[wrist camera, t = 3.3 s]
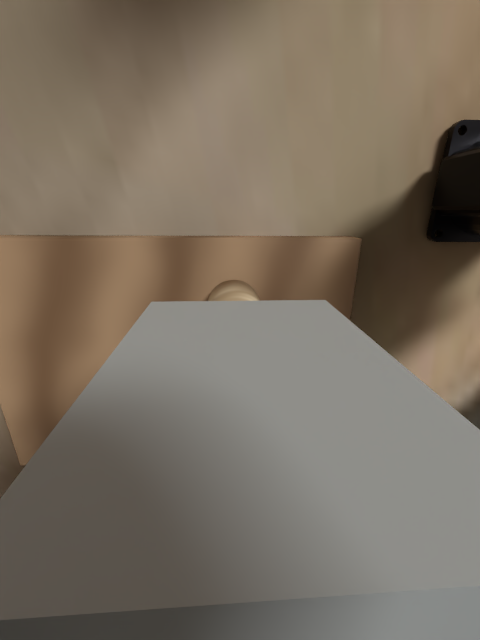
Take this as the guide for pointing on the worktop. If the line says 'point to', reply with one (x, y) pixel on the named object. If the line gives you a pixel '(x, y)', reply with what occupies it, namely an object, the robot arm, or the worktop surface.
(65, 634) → the block
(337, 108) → the worktop surface
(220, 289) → the peg
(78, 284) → the board
